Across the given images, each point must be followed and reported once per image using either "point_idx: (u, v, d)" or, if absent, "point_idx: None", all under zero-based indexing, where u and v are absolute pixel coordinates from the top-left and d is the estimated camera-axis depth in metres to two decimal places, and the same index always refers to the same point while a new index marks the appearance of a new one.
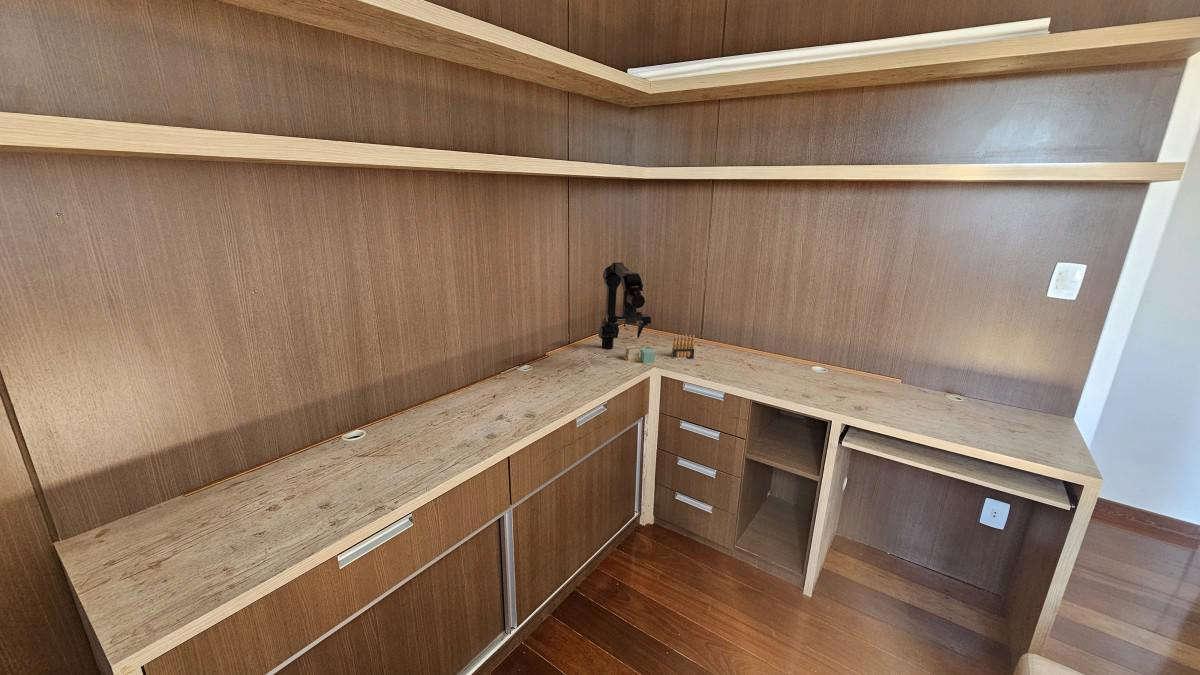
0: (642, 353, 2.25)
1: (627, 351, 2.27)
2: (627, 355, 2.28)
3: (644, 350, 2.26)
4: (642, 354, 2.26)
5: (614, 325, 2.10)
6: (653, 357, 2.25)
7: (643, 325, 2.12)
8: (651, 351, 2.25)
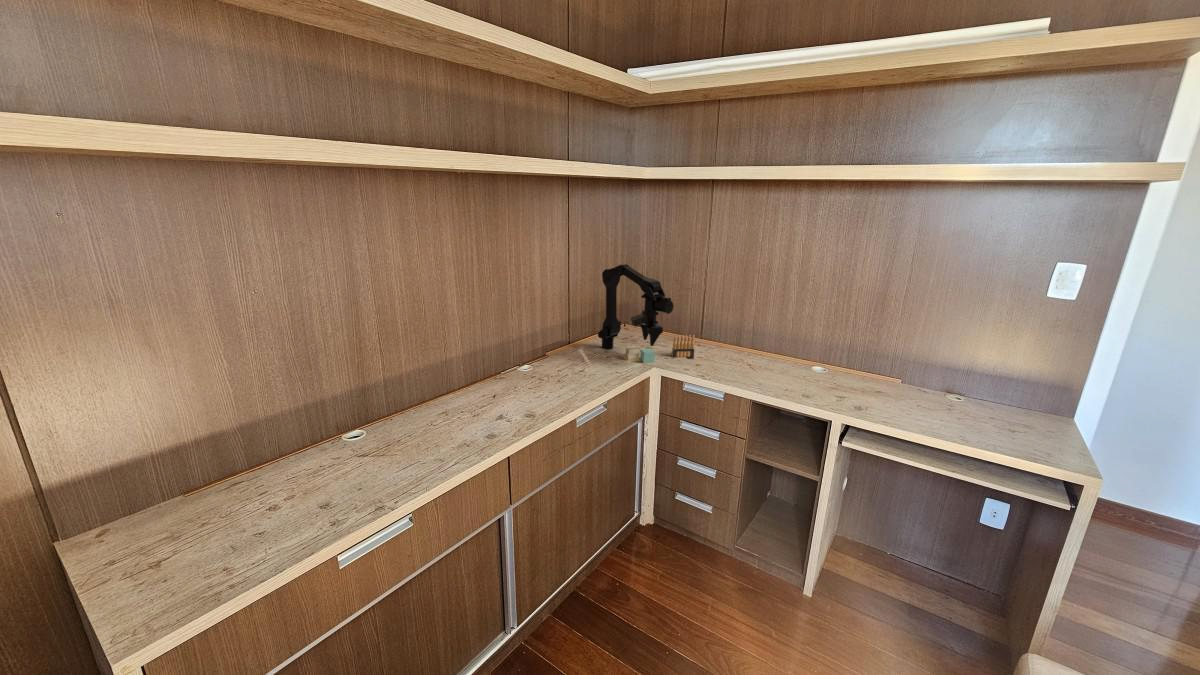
0: (642, 353, 2.25)
1: (627, 351, 2.27)
2: (627, 355, 2.28)
3: (644, 350, 2.26)
4: (642, 354, 2.26)
5: (639, 325, 2.28)
6: (653, 357, 2.25)
7: (648, 333, 2.17)
8: (651, 351, 2.25)
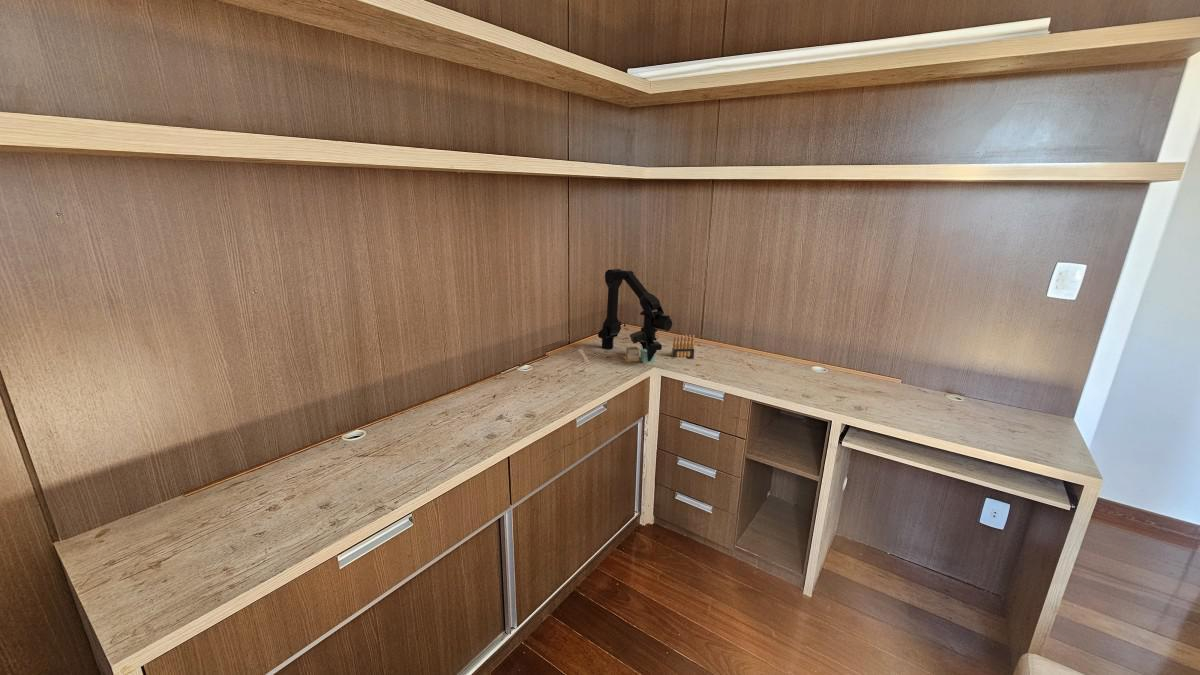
0: (642, 353, 2.25)
1: (627, 351, 2.27)
2: (627, 355, 2.28)
3: (644, 350, 2.26)
4: (642, 354, 2.26)
5: (640, 343, 2.29)
6: (653, 357, 2.25)
7: (645, 348, 2.21)
8: None
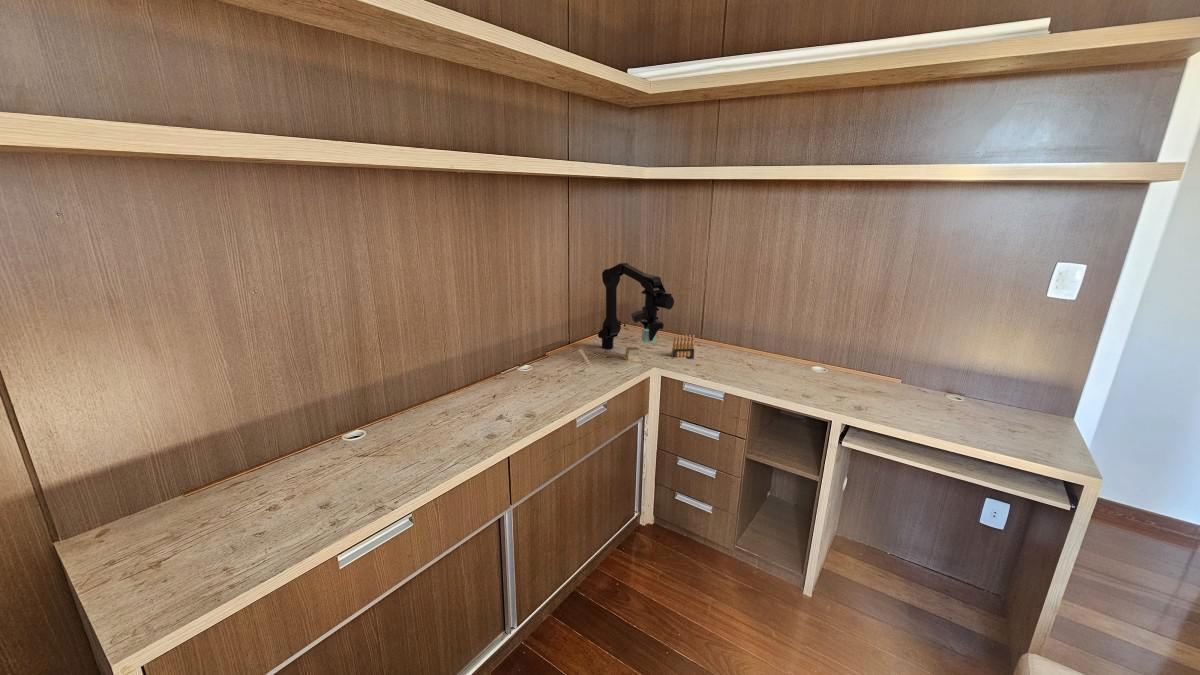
0: (644, 333, 2.23)
1: (627, 351, 2.27)
2: (627, 355, 2.28)
3: (646, 330, 2.23)
4: (644, 334, 2.23)
5: None
6: (655, 337, 2.22)
7: (647, 328, 2.18)
8: None
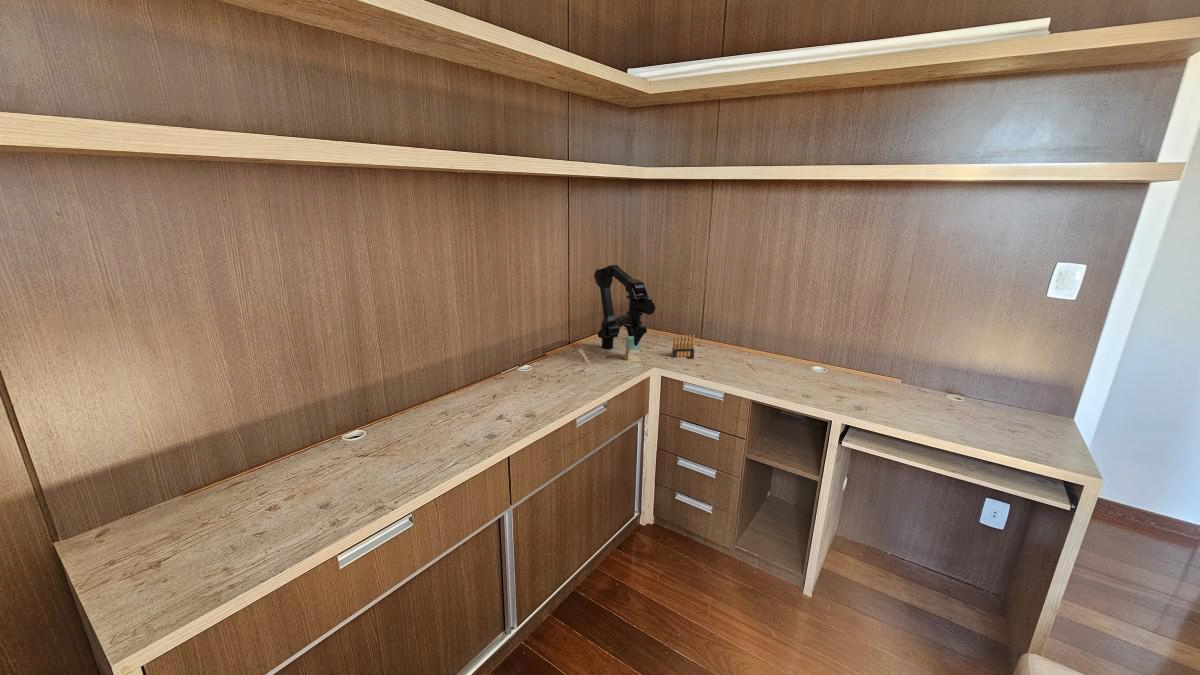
0: (627, 340, 2.26)
1: (627, 351, 2.27)
2: (627, 355, 2.28)
3: (629, 337, 2.27)
4: (627, 341, 2.26)
5: (625, 326, 2.30)
6: (638, 344, 2.25)
7: (632, 333, 2.20)
8: None
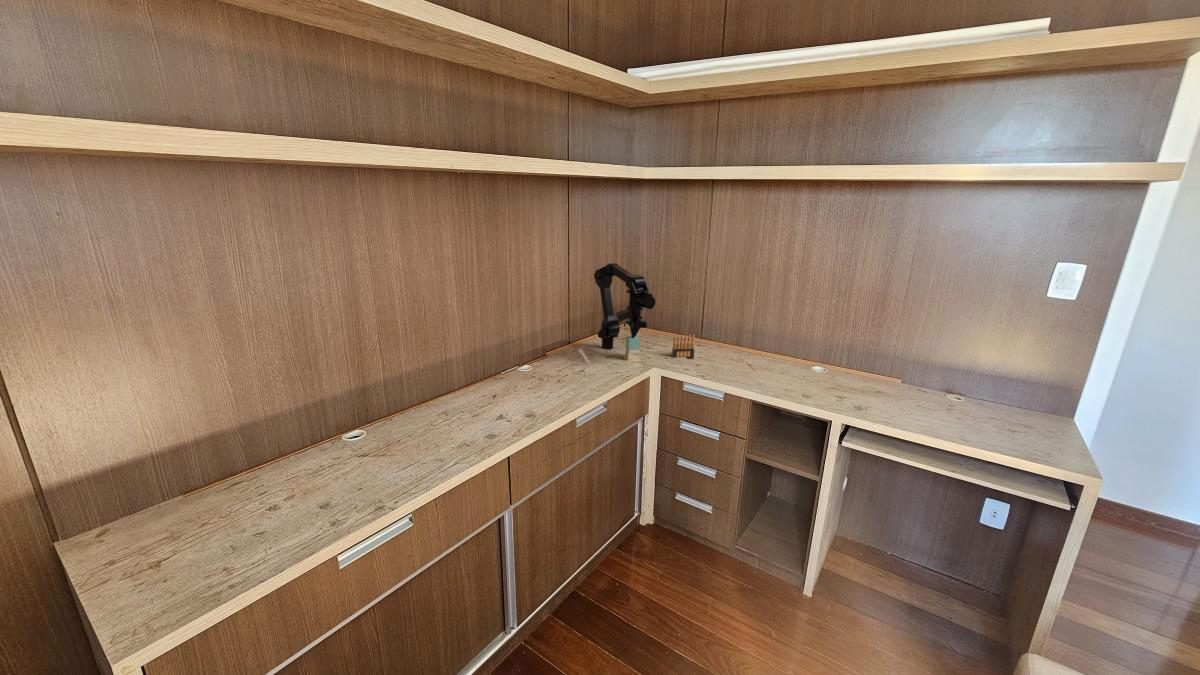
0: (627, 340, 2.26)
1: (627, 351, 2.27)
2: (627, 355, 2.28)
3: (629, 337, 2.27)
4: (627, 341, 2.26)
5: (627, 323, 2.26)
6: (638, 344, 2.25)
7: (629, 325, 2.23)
8: (636, 338, 2.26)
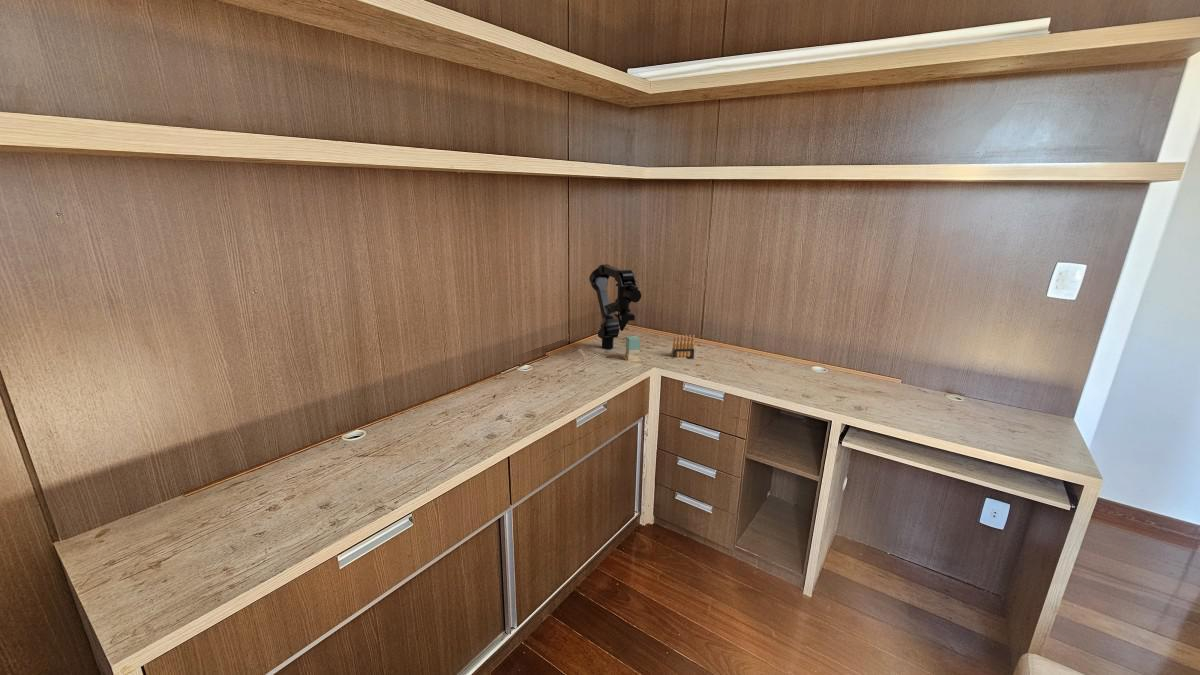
0: (627, 340, 2.26)
1: (627, 351, 2.27)
2: (627, 355, 2.28)
3: (629, 337, 2.27)
4: (627, 341, 2.26)
5: (616, 316, 2.30)
6: (638, 344, 2.25)
7: (618, 318, 2.26)
8: (636, 338, 2.26)
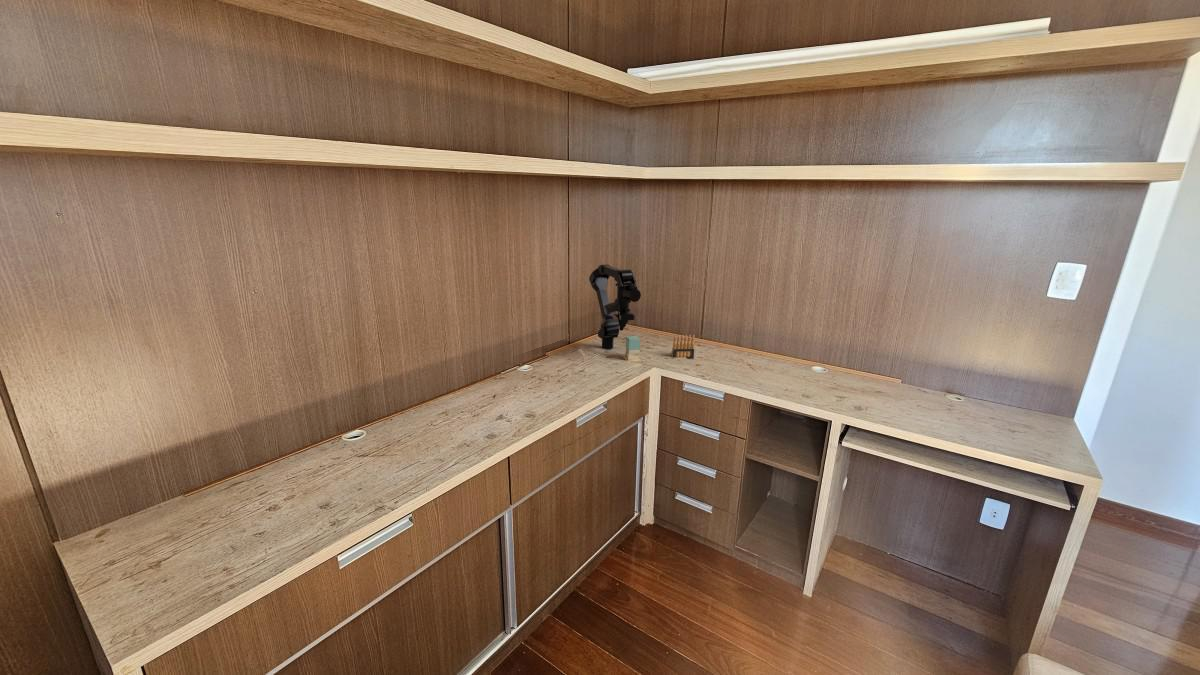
0: (627, 340, 2.26)
1: (627, 351, 2.27)
2: (627, 355, 2.28)
3: (629, 337, 2.27)
4: (627, 341, 2.26)
5: (616, 316, 2.30)
6: (638, 344, 2.25)
7: None
8: (636, 338, 2.26)
